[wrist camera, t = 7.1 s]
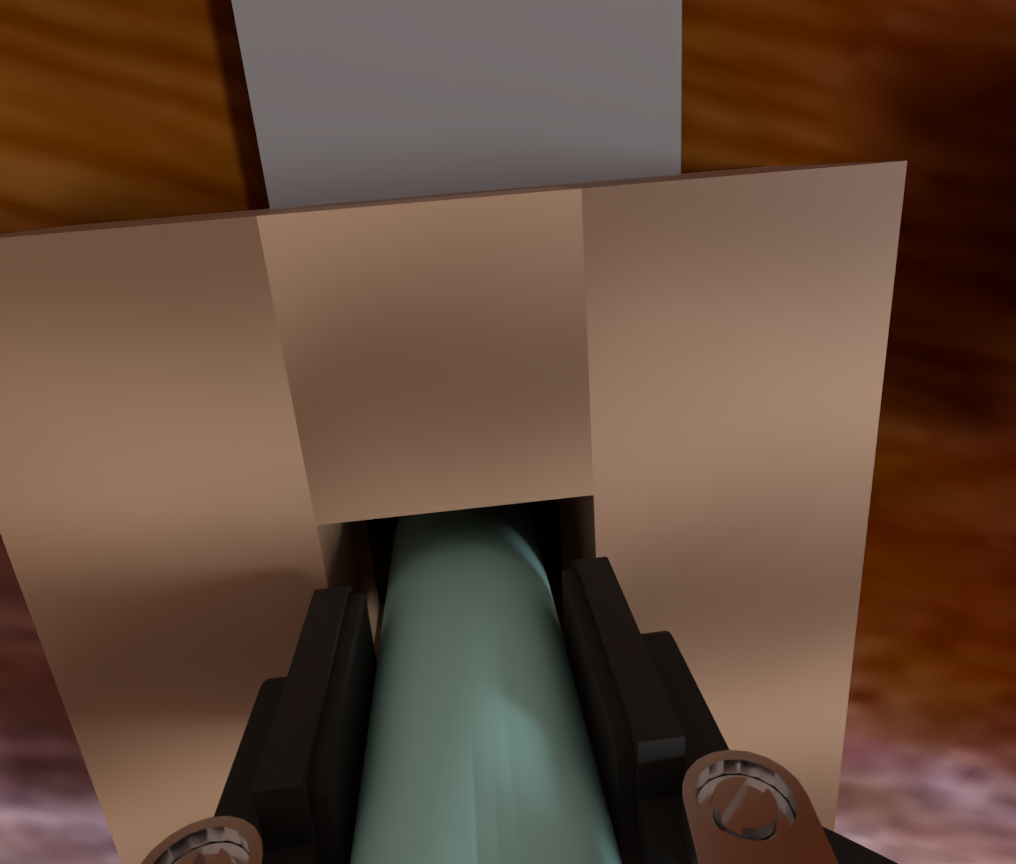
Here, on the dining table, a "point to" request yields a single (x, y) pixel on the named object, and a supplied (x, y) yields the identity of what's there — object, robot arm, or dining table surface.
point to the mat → (459, 94)
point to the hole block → (444, 439)
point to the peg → (476, 707)
